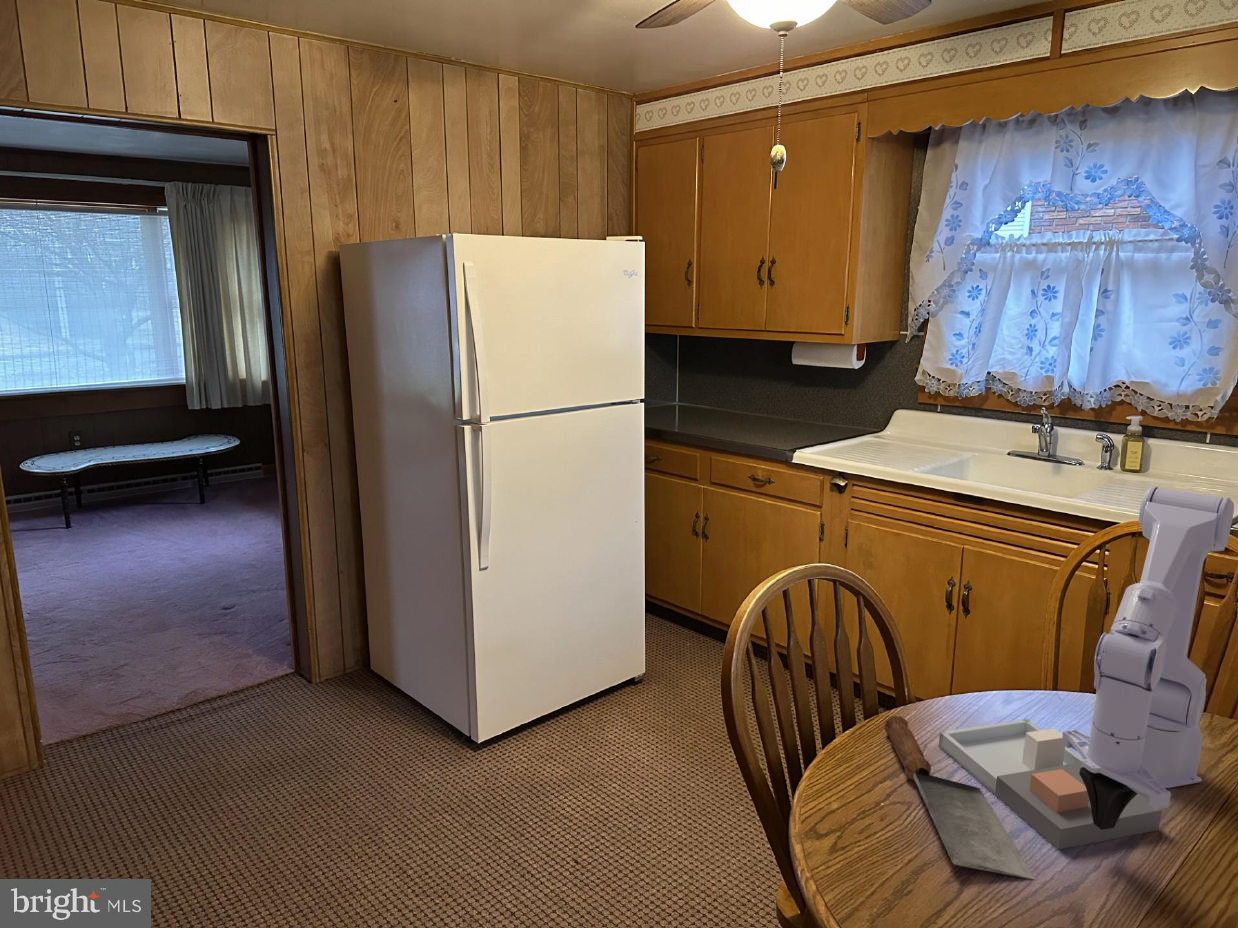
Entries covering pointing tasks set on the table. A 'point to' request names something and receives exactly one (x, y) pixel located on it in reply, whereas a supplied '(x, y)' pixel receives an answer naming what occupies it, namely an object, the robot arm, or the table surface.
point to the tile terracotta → (1059, 790)
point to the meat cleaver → (958, 812)
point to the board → (1071, 812)
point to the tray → (993, 749)
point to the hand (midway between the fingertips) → (1103, 825)
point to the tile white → (1043, 749)
